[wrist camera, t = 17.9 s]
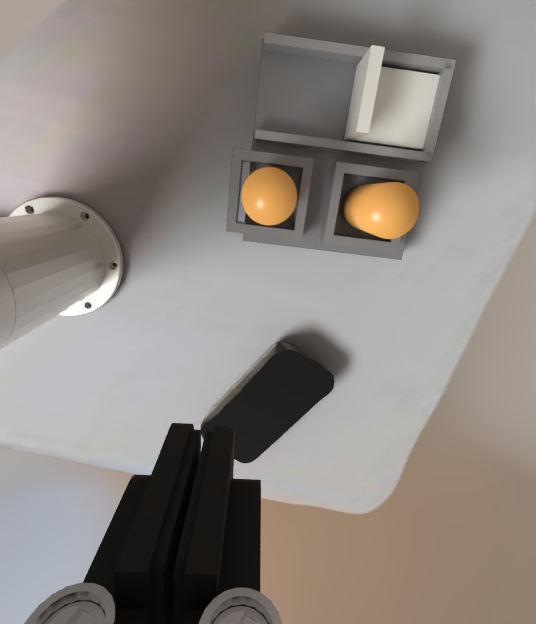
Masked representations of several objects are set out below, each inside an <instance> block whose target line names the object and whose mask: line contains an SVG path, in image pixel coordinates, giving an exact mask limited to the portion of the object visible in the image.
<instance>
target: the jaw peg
mask: <svg viewBox="0 0 536 624" xmlns="http://www.w3.org/2000/svg"><path fill="white" fill-rule="evenodd" d="M419 210H420V206H419V200H418V197H417V195H416V193H415V192H414V190H413V189H412V188H411V187H409V186H408V185H406V184H403V183H400V182H388V183H377V184H366V185H358V186H355V187H353V188H352V189H350V190H349V191H348V192H347V193H346V194H345V196H344V197H343V200H342V203H341V214H342V217H343V219H344V220H345V221H346V223H348V224H349V225H350V226H352V227H355V228H357V229H360V230H362V231H365V232H368V233H370V234H373V235H375V236H378V237H381V238H384V239H394V238H398V237H401V236H403V235H404V234H406V233H407V232H408V231H409V230H410V229H411V228H412V227H413V226H414V224H415V223H416V221H417V219H418V216H419Z"/></svg>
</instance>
